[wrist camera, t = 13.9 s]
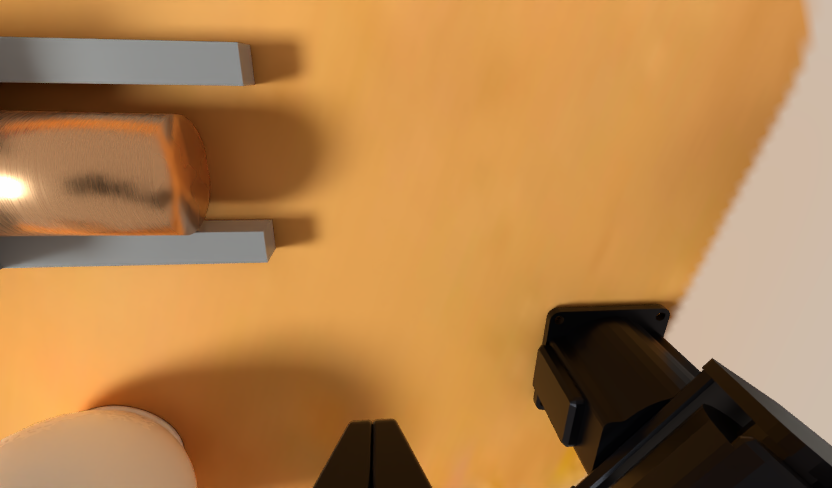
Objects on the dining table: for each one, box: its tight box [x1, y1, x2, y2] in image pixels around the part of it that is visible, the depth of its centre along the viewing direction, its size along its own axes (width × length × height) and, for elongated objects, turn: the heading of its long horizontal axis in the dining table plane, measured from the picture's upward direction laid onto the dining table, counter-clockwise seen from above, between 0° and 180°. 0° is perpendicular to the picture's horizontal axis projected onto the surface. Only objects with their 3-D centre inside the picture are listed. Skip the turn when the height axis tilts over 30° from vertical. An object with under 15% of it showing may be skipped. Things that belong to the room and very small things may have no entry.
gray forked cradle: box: [0, 37, 276, 269], centre depth 14 cm, size 13×8×6 cm, turn 89°
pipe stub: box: [0, 110, 210, 236], centre depth 15 cm, size 8×4×4 cm
